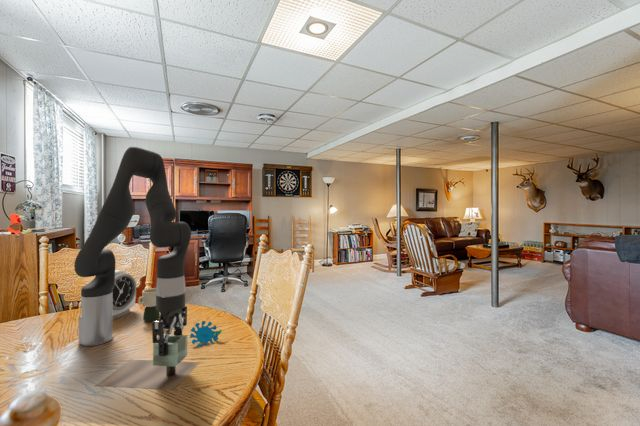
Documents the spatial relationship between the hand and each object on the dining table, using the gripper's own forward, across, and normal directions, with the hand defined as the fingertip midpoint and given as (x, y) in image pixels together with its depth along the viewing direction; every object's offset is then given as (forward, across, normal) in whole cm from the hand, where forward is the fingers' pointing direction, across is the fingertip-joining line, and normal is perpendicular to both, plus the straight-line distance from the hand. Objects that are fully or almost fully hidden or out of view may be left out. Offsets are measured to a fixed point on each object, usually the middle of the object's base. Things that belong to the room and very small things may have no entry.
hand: (170, 349), depth 87 cm
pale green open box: (+3, 0, 0) cm, 3 cm away
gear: (+9, -22, 0) cm, 24 cm away
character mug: (+9, -42, -33) cm, 54 cm away
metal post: (+7, 0, 0) cm, 7 cm away
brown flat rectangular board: (+9, 0, -6) cm, 10 cm away
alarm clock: (+9, -45, -52) cm, 69 cm away
